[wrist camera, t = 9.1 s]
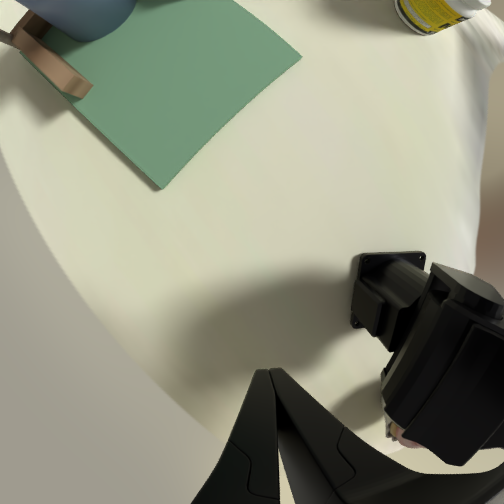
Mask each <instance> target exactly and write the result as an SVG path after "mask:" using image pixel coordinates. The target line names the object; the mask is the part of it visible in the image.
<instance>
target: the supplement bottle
mask: <svg viewBox="0 0 504 504" xmlns="http://www.w3.org/2000/svg"><path fill="white" fill-rule="evenodd" d="M490 4H491V0H395V8H396V11H397V13H398V15H399V16H400V18H401V19H402V20H403V21H404V22H405V24H407V25H408V26H409V27H410V28H411V29H413V30H414V31H416V32H417V33H419V34H422V35H432V34H435V33H437V32H439V31H441V30H443V29H446V28H448V27H450V26H453V25H455V24H458V23H460V22H462V21H465V20H467V19H470V18H472V17H474V16H475V14H476V11H477V10H482V9H484V8H486V7H488V6H489V5H490Z"/></svg>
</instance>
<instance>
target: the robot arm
mask: <svg viewBox="0 0 504 504" xmlns="http://www.w3.org/2000/svg"><path fill="white" fill-rule="evenodd" d="M420 256H421V258H420ZM366 258H368V261H367V262H365V259H366ZM425 260H426V254H425V253H424V252H422V251H407V252H379V253H364V254H362V255H361V257H360V261H359V269H358V276H357V280H356V282H355V285H354V292H353V299H352V305H351V311H352V315H351V321H350V324H351V326H352V327H353V328H354V329H358V328H366V329H367V331H368V332H369V333H370V334H371V336H372V337H377V338H378V339H379V340H380V341H381V343H382V344H383V345H384V346H385V348H386V349H387V350H388V351H389V352H394V353H393V355H392V357H391V359H390V361H389V362H388V364H387V366H386V368H384V369H383V370H382V372H381V374H380V375H381V380H382V385H381V394H382V396H383V399H384V402H385V404H386V405H385V406H384V411H385V413H386V414H387V415H388V417H389V418H390V419H391V420H392V421H393V422H394V423H395V425H396V426H398V427H399V428H400V429H402V430H404V432H403V433H402V434H401V436H402V438H404V439H407V440H410V441H413V442H416V443H418V444H420V445H422V446H424V447H426V448H427V449H429V450H430V451H431V452H433V453H434V454H435V455H436V456H438V457H439V458H440V459H441V460H442V461H444V462H445V463H446V464H449V465H454V466H463V465H465V464H466V463H467V461H469V460H470V459H471V458H472V457H473V456H474V454H475V453H476V452H477V451H478V450H484V449H491V448H501V449H504V299H503V298H502V297H501V295H500V294H499V293H498V291H497V290H496V289H495V288H494V287H493V286H492V285H491V284H489V283H487V282H485V281H483V280H481V279H479V278H478V277H476V276H474V275H472V274H469V273H466V272H463V271H460V270H457V269H454V268H450V267H447V266H444V265H441V264H437V263H434V262H433V263H432V265H431V268H430V271H431V272H430V275H429V274H428V273H426V272H424V266H425ZM357 321H358V323H356V324H355V322H357ZM278 449H279V452H280V455H281V459H282V462H283V465H284V469H285V472H286V475H287V478H288V482H289V485H290V488H291V492H292V495H293V498H294V501H295V504H504V462H503V463H502V464H501V465H499V466H498V467H496V468H495V469H492V470H490V471H487V472H482V473H472V474H424V473H419V472H415V471H413V470H410V469H408V468H406V467H404V466H403V465H401V464H399V463H397V462H396V461H394V460H392V459H391V458H389V457H387V456H386V455H384V454H382V453H381V452H379V451H378V450H376V449H375V448H373V447H372V446H370V445H369V444H367V443H366V442H364V441H363V440H362V439H360V438H359V437H358V436H357V435H355V434H354V433H353V432H352V431H350V430H349V429H348V428H347V427H344V425H343V424H342V423H341V422H340V421H339V420H338V419H337V418H335V417H334V416H333V415H332V414H331V413H330V412H329V411H327V410H326V409H325V408H324V407H323V406H322V405H321V404H320V403H319V402H317V401H316V400H315V399H314V398H313V397H312V396H311V395H310V394H309V393H308V392H307V391H305V390H304V389H303V388H302V387H301V386H300V385H299V384H298V383H297V382H296V381H295V380H294V379H293V378H292V377H291V376H290V375H288V374H287V373H286V372H285V371H284V370H283V369H282V368H270V369H269V370H268V369H257V370H256V371H255V373H254V375H253V378H252V381H251V383H250V386H249V388H248V391H247V394H246V396H245V399H244V401H243V404H242V406H241V409H240V412H239V414H238V417H237V419H236V422H235V424H234V426H233V429H232V431H231V434H230V436H229V439H228V442H227V443H226V446H225V448H224V450H223V452H222V455H221V457H220V459H219V461H218V463H217V465H216V466H215V468H214V470H213V471H212V473H211V475H210V476H209V478H208V479H207V481H206V482H205V484H204V485H203V487H202V488H201V490H200V491H199V492H198V494H197V495H196V497H195V498H194V500H193V501H192V503H191V504H280V485H279V484H280V483H279V456H278Z"/></svg>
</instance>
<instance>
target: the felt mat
mask: <svg viewBox="0 0 504 504" xmlns="http://www.w3.org/2000/svg"><path fill="white" fill-rule="evenodd" d="M41 40H42V41H44V42H45V43H46V44H47V45H48V46H49V47H51V48H52V49H53V50H54V51H55V52H56V53H57V54H59V55H60V56H61V57H62V58H63V59H64V60H65V61H67V62H68V63H69V64H70V65H71V66H72V67H73V68H75V69H76V70H77V71H78V72H79V73H80V74H81V75H82V76H84V77H85V78H86V79H87V80H88V81H89V82H90V83H92V84H93V85H94V86H93V87H92V88H91V89H90V91H89V92H88V93H87V94H86V96H85V97H84V98H83V99H82V98H79V97H76V96H74V95H71V94H69V93H66V92H63V91H61V90H60V89H59V88H58V87H57V86H56V85H55V84H54V83H53V82H52V81H51V80H50V79H49V78H48V77H47V76H46V75H45V74H44V73H43V72H42V71H41V70H40V69H39V68H38V67H37V66H36V65H35V64H34V63H33V62H32V61H31V60H30V59H29V58H28V57H27V56H26V55H25V54H24V53H23V52H22V51H20V54H21V55H22V56H23V57H24V58H25V59H26V60H27V61H28V62H29V63H30V64H31V65H32V66H33V67H34V68H35V69H36V70H37V71H38V72H39V73H40V74H41V75H42V76H44V77H45V78H46V79H47V80H48V81H49V82H50V83H51V84H52V85H53V86H54V87H55V88H56V89H57V90H58V91H59V92H60V93H61V94H62V95H63V96H64V97H65V98H66V99H67V100H68V101H69V102H70V103H71V104H72V105H73V106H74V107H75V108H76V109H77V110H78V111H79V112H80V113H81V114H83V115H84V116H85V117H86V118H87V119H88V120H89V121H90V122H91V123H92V124H93V125H94V126H95V127H96V128H97V129H98V130H99V131H100V132H101V133H102V134H103V135H104V136H106V137H107V138H108V139H109V140H110V141H111V142H112V143H113V144H114V145H115V146H116V147H117V148H118V149H119V150H120V151H121V152H122V153H123V154H125V155H126V156H127V157H128V158H129V159H130V160H131V161H132V162H133V163H134V164H135V165H136V166H137V167H138V168H139V169H140V170H142V171H143V172H144V173H145V174H146V175H147V176H148V177H149V178H150V179H151V180H152V181H153V182H154V183H155V184H157V185H158V186H159V187H160V188H161V189H164V188H165V187H166V186H167V185H168V184H169V182H170V181H171V180H172V179H173V178H174V177H175V176H176V175H177V174H178V173H179V171H180V170H181V169H182V168H183V167H184V166H185V165H186V164H187V163H188V162H189V161H190V160H191V159H192V158H193V156H194V155H195V154H196V153H197V152H198V151H199V150H200V149H201V148H202V147H203V146H204V145H205V144H206V143H207V142H208V141H209V140H210V139H211V138H212V137H213V136H214V135H215V134H216V133H217V132H218V131H219V130H220V129H221V128H222V127H223V126H224V125H225V124H226V123H227V122H228V121H230V120H231V119H232V118H233V117H234V116H235V115H236V114H237V113H238V112H239V111H240V110H241V109H242V108H243V107H245V106H246V105H247V104H248V103H249V102H250V101H251V100H252V99H253V98H255V97H256V96H257V95H258V94H259V93H260V92H261V91H263V90H264V89H265V88H266V87H267V86H268V85H270V84H271V83H272V82H273V81H274V80H275V79H277V78H278V77H279V76H280V75H282V74H283V73H284V72H285V71H286V70H288V69H289V68H290V67H291V66H293V65H294V64H295V63H296V62H298V61H299V60H300V59H301V58H302V56H301V55H300V54H299V53H298V52H297V51H296V50H295V49H294V48H292V47H291V46H290V45H289V44H288V43H287V42H286V41H284V40H283V39H282V38H281V37H280V36H279V35H277V34H276V33H275V32H274V31H273V30H271V29H270V28H269V27H268V26H267V25H265V24H264V23H263V22H261V21H260V20H259V19H258V18H256V17H255V16H254V15H252V14H251V13H250V12H248V11H247V10H246V9H244V8H243V7H242V6H240V5H239V4H237V3H236V2H234V1H233V0H137V2H136V5H135V8H134V10H133V12H132V13H131V15H130V16H129V17H128V19H127V20H126V21H125V22H124V23H123V24H122V25H121V26H120V27H118V28H117V29H116V30H115V31H113V32H112V33H110V34H108V35H107V36H105V37H103V38H100V39H98V40H94V41H90V42H78V41H75V40H73V39H72V38H70V37H69V36H67V35H66V34H65V33H63V32H62V31H60V30H59V29H57V28H56V27H55V26H52V27H51V28H50V29H49V31H48V32H47V33H46V34H45V35H44V36H43V38H42V39H41Z"/></svg>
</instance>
